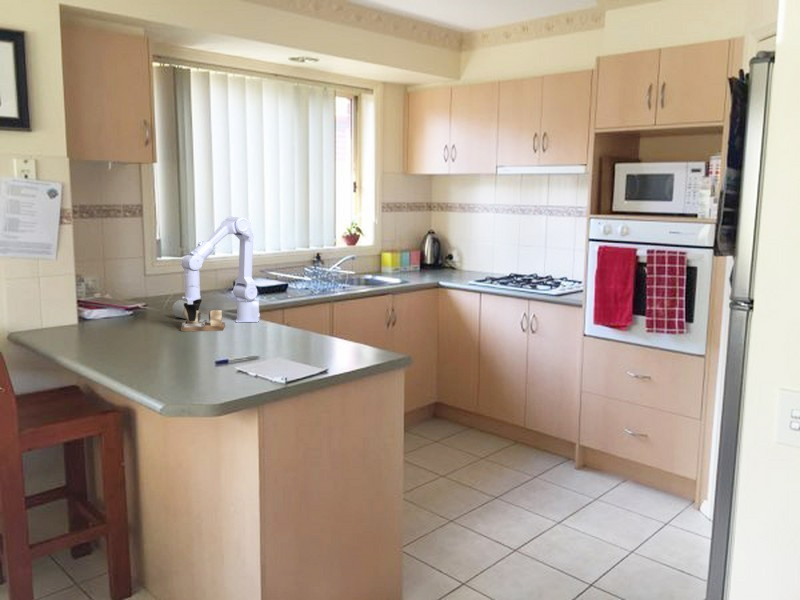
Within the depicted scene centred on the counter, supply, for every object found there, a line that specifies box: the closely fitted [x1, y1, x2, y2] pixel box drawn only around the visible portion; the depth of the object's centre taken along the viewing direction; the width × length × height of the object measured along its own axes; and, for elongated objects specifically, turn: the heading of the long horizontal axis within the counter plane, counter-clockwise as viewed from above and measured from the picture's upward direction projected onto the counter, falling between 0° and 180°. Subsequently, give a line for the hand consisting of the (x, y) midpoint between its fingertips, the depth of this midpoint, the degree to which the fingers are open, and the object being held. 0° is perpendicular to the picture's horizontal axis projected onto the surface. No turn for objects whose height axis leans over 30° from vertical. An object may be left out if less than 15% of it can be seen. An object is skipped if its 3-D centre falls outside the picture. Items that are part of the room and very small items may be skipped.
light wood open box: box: [180, 309, 226, 332], centre depth 271 cm, size 16×9×7 cm, turn 99°
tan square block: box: [186, 309, 201, 324], centre depth 271 cm, size 5×4×6 cm
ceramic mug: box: [171, 299, 187, 320], centre depth 292 cm, size 11×8×8 cm
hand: (193, 319), depth 271 cm, fingers open, 6 cm apart
